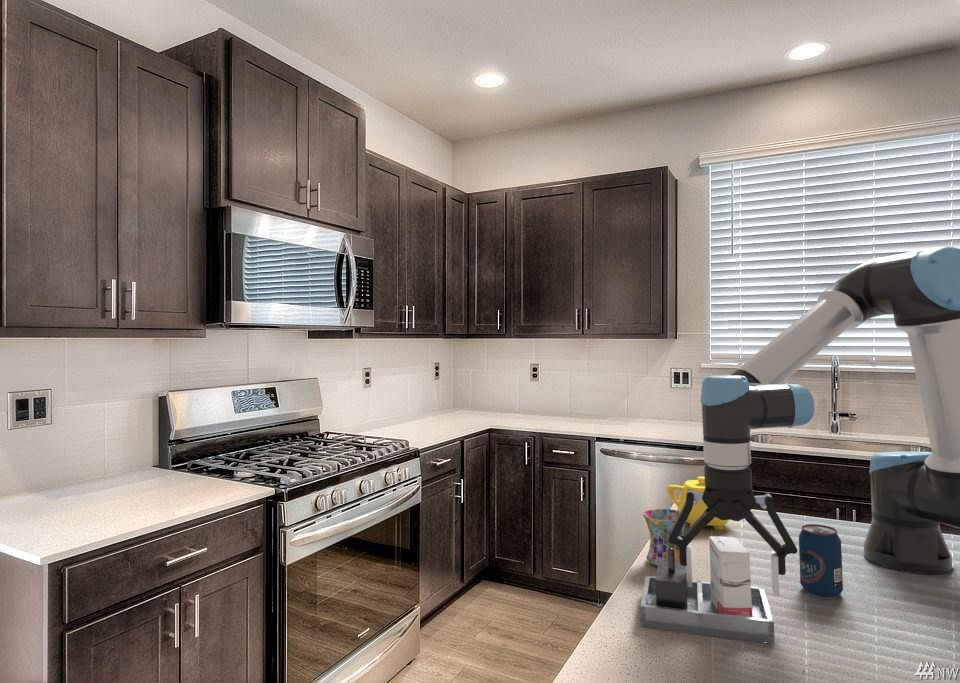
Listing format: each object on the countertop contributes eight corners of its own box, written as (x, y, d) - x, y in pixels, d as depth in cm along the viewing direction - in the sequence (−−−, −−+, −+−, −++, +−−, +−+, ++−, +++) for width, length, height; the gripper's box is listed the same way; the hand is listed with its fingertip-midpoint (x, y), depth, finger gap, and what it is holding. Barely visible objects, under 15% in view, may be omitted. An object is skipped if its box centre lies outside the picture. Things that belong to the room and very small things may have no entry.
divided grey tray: (764, 605, 104) (761, 542, 104) (774, 644, 91) (772, 571, 91) (646, 592, 111) (644, 533, 111) (640, 626, 98) (638, 559, 98)
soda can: (792, 589, 110) (789, 526, 110) (817, 582, 113) (814, 521, 113) (826, 603, 104) (824, 536, 104) (851, 595, 107) (849, 531, 107)
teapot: (755, 534, 142) (753, 483, 142) (671, 531, 146) (669, 482, 146) (741, 518, 155) (739, 472, 156) (664, 516, 159) (662, 471, 159)
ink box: (754, 625, 94) (751, 552, 95) (722, 623, 95) (720, 552, 95) (738, 601, 103) (736, 535, 103) (710, 600, 104) (707, 535, 104)
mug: (688, 573, 119) (686, 522, 119) (642, 568, 123) (640, 518, 123) (691, 554, 130) (689, 507, 130) (648, 549, 134) (647, 503, 134)
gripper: (804, 463, 99) (809, 587, 98) (653, 458, 107) (657, 572, 107) (813, 472, 92) (818, 606, 91) (650, 466, 100) (655, 589, 100)
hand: (731, 588), depth 99 cm, fingers open, 13 cm apart
